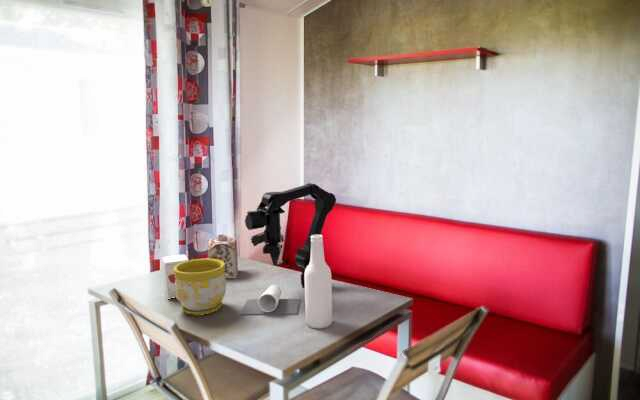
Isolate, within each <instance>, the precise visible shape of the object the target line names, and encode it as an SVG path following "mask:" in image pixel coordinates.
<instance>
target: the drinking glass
mask: <svg viewBox="0 0 640 400" xmlns="http://www.w3.org/2000/svg"><path fill="white" fill-rule="evenodd" d="M281 295H282V289H281V287H280V286H278V285H277V284H271V285H269V286H268V287H267V289H266V290H264V291H263V293H262V294H261V295H260V296H259V298H258V299H259V301H258V304H259V307H260V309H261V310H263V311H265V312H271V311H273V310H274V309H275V308H276V307H277V305H278V303H279V299H281Z"/></svg>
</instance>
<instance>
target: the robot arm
mask: <svg viewBox="0 0 640 400" xmlns="http://www.w3.org/2000/svg"><path fill="white" fill-rule="evenodd" d="M307 196H310V197H311V198H312V199H313V200H314V215H313V218H312V221H311V224H310V226H309V230H308V233H307V236H306V239H305V243H304V245H303V246H302V247H298V248H297V250H296V254H295V255H294V258H295V264H296V265H297V266H298V268H299V270H302V272H301V273H300V285H301V287H302V288H303V289H305V280H304V273H305V269H306V267H307V266H308V265H309V263H310V256H311V236H312V235H322V232H323V229H324V226H325V222H326V219H327V216H328V214H330V212H331V211H333V209H334V207H335V204H336V202H337V198H336V196H335V194H333V193H331V192H328V191H327V190H324V188H322V187H320V186H318V185H317V184H316V183H311V182H308V183H306V184H304V185H300V186H297V187H294V188H290V189H287V190H284V191H270V192H265V193H264V194H262V197H261V201H260V203H259V204H258V206H257V208H256V210H253V211H252V210H249V211H248V210H247V211H246V213H247V214H246V216H245V219H244V223H245V227H246V230H248V231H251V230H257V229H262V228H264V230H263V231H261V232H259V233H256V234H254V235H252V236H251V237H250V240H251V244H252V245H253V247H257V246H258V245H259V244H263V243H264V245H263V247H262V254H264V255H267V254H269V256H270V259H271V261H272V266H277V264H278V261H279V258H280V256H281V252H282V250H283V249H282V248H283V244H281V242H282V243H284V241H285V237H284V235H283V234H282V231H281V230H282V226H281V214H285V212H286V211H285V210H284V209H283V208H282V207H284V206H285V205H286V204H287V203H289V202H291V201H295V200H298V199H300V198H305V197H307Z"/></svg>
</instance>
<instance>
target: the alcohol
mask: <svg viewBox="0 0 640 400" xmlns="http://www.w3.org/2000/svg"><path fill="white" fill-rule="evenodd" d="M323 238H324V235H322V234H321V235H312V236H311V256H310V263H309V265H308V266H307V267H306V269H305V273H304V280H305V288H304V306H305V308H304V309H305V323H306V325H307V326H308V327H309V328H311V329H317V330H319V329H326V328H329V327H330V326H331V324H332V323H333V299H332V298H333V296H332V295H333V293H332V292H333V291H332V290H333V289H332V272H331V268H330V266H329V265H328V264H327V263H326V261H325V260H326V259H325V253H324V252H325V251H324V243H323V242H324V239H323ZM328 326H329V327H328Z"/></svg>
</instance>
